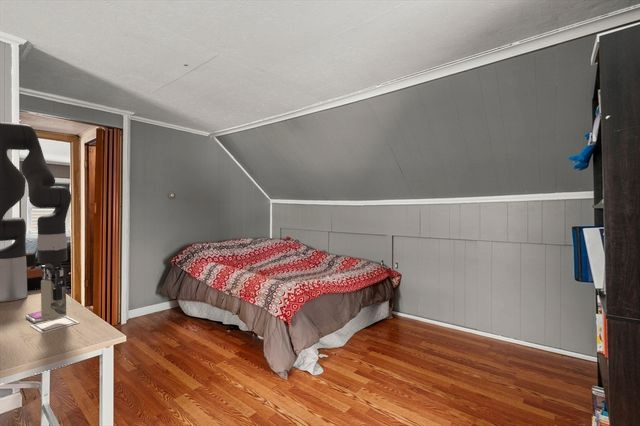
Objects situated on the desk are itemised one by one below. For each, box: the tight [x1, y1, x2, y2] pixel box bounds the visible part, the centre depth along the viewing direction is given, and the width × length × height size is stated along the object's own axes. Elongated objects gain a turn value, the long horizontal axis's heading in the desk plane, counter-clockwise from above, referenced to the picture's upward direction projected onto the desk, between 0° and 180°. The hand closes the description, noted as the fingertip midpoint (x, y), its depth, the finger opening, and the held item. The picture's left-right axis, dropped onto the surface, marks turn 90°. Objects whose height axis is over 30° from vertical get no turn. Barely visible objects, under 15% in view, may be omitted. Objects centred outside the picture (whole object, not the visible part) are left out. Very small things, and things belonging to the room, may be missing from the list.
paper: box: [30, 315, 80, 334], centre depth 107 cm, size 10×10×1 cm
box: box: [40, 279, 67, 321], centre depth 107 cm, size 5×4×13 cm
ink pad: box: [25, 310, 47, 324], centre depth 114 cm, size 8×8×1 cm
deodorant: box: [26, 252, 37, 269], centre depth 151 cm, size 6×6×15 cm
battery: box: [27, 266, 42, 292], centre depth 147 cm, size 4×7×10 cm, turn 143°
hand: (54, 298), depth 107 cm, fingers closed on box, 5 cm apart
